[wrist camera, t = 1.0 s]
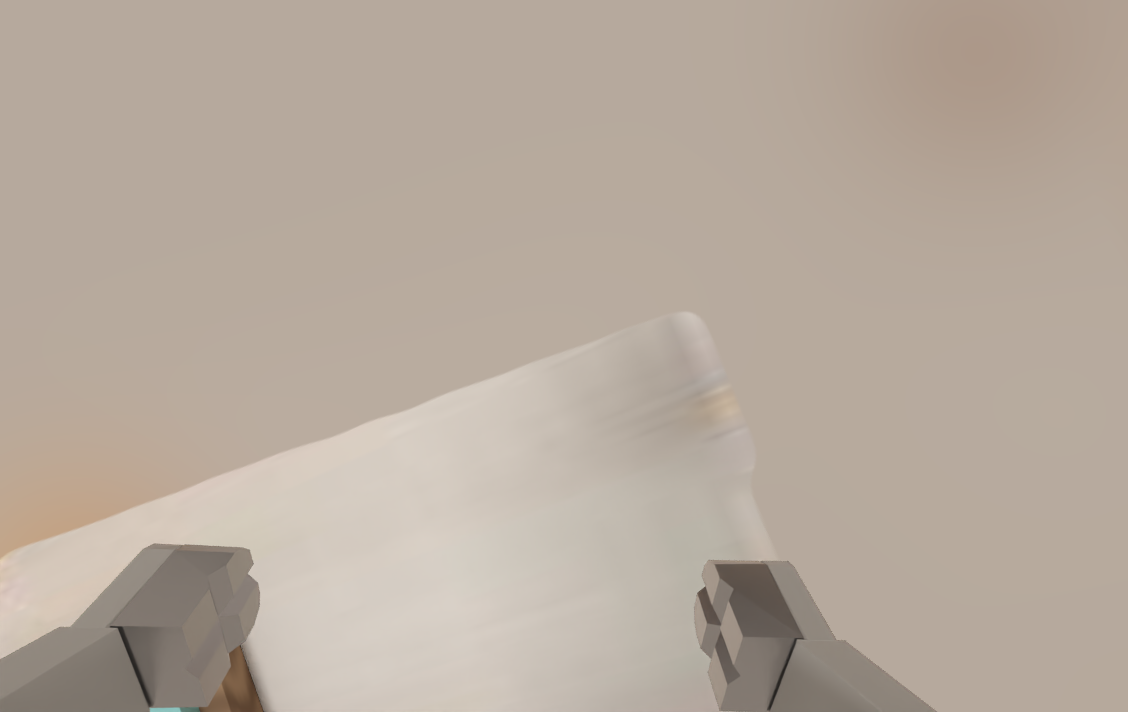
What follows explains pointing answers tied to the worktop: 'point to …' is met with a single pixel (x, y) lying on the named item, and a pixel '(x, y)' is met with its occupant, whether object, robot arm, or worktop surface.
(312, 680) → the worktop surface
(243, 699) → the board
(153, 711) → the block
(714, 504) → the worktop surface
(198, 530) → the worktop surface
